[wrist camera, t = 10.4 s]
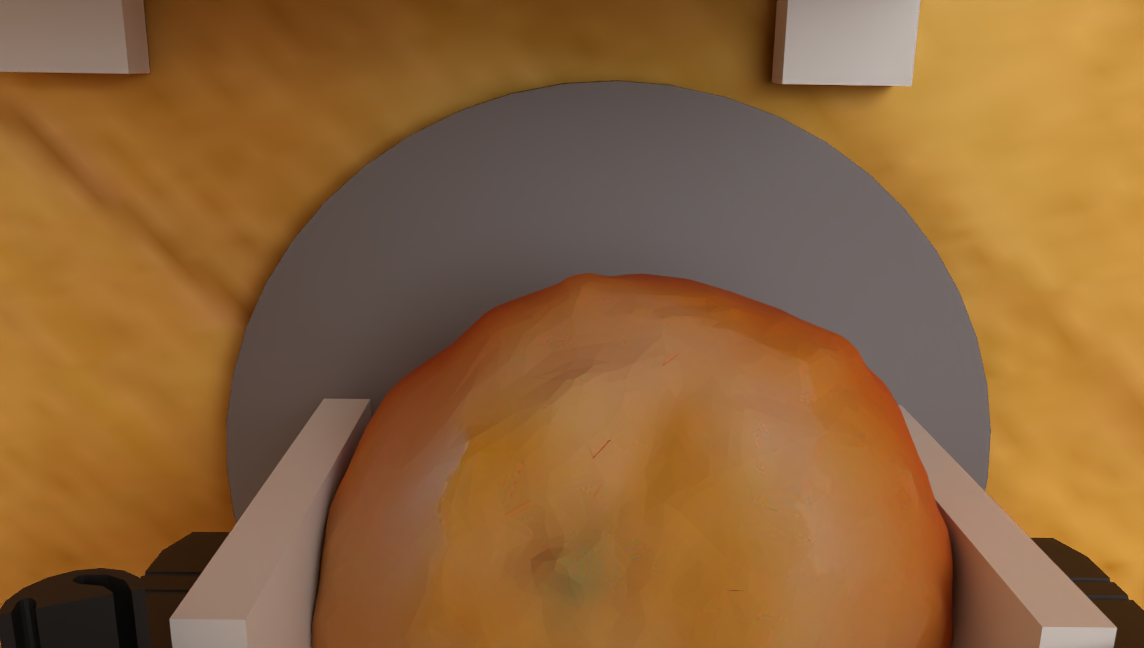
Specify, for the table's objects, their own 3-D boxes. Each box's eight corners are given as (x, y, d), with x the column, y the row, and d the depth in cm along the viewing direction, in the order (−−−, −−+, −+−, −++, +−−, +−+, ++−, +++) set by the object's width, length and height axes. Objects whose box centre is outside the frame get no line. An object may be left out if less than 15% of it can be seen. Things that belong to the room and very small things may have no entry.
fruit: (561, 877, 17) (367, 1141, 9) (407, 461, 19) (150, 404, 12) (998, 695, 16) (1172, 824, 9) (781, 282, 18) (767, 95, 11)
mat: (212, 74, 16) (194, 74, 15) (1017, 86, 16) (1040, 88, 15) (265, 761, 19) (253, 791, 18) (929, 766, 19) (944, 795, 18)
